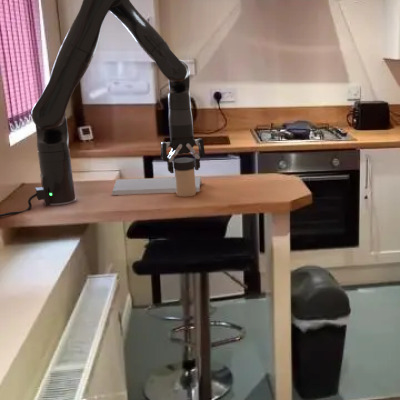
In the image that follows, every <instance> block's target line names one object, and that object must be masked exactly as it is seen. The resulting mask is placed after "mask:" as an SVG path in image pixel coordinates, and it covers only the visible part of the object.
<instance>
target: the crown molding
mask: <svg viewBox="0 0 400 400" xmlns="http://www.w3.org/2000/svg"><path fill="white" fill-rule="evenodd" d="M202 184H203V181H202V177H201V176H195V187H196V193H200V191H201V185H202ZM150 194H154V195H155V194H177V193H176V181H175V177H155V178H153V177H152V178H151V177H150V178H149V177H148V178H123V179H116V180H115V183H114V185H113V189H112V193H111V195H112V196H126V195H150Z"/></svg>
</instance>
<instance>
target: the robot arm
mask: <svg viewBox="0 0 400 400" xmlns="http://www.w3.org/2000/svg"><path fill="white" fill-rule="evenodd" d="M109 12H110V13H111V14H113V16H114V17H116V18H117V20H119V22H120V23H121V24H122V25H123V26H124V27H125V29H126V30H127V31H128V33H130V36H131V37H132V38H133V39H134V40H135V42H136V43H137V44H138V45H139V46H140V48H141V49H143V51H144V53H146V55H147V56H148V57H149V58H150V59H151V60H152V61H153V62H154V63H155V65H156V67H158V70H159V71H160V72H161V73H162V75H163V76H164V77H165V78H166V79H167V80H168V90H169V91H168V93H167V104H168V127H169V128H168V129H169V141H167V142H166V141H161V142H160V160H162V161H164V162H166V163H167V171H168V172H169V173H170V174H175V169H174V164H173V160H175V158H176V157H177V155H183V154H189V153H190V155H192V157H194V158H193V159H194V166H195V167H194V171H199V169H200V168H201V158H204V157H205V156H206V153H205V151H206V150H205V143H204V142H205V141H204V139H203V138H200V137H198V138H197V139H195V138H194V125H193V124H194V123H193V122H194V119H193V113H192V109H191V108H192V105H191V95H190V87H191V85H190V83H191V73H190V67H189V65H188V64H187V63H186V62H185V61H184V60H181V59H179V58H178V57H177V55H176V54H175V53H174V52H173V51H172V49H171V47H170V45H169V43H167V41H166V40H165V39H164V37H163V36H162V35H161V34H160V33H159V32H158V31H157V30H156V29H155V27H154V26H152V24H151V23H150V22H149V21H148V20H147V19H145V17H144V16H143V15H142V14H141V13H140V12H139V11H138V10H137V9H136V7H135V5H133V3H132V2H131V0H82V3H81V6H80V8H79V11H78V13H77V15H76V17H75V19H74V20H73V22H72V23H71V26H70V28H69V30H68V32H67V34H66V36H65V38H64V40H63V42H62V44H61V46H60V48H59V51H58V53H57V56H56V59H55V61H54V64H53V67H52V70H51V73H50V77H49V80H48V82H47V84H46V86H45V88H44V89H43V92H42V93H41V94H40V96H39V98H38V100H37V101H36V103H35V104H34V105H33V107H32V109H31V119H32V122H33V123H34V125H35V132H36V148H37V156H38V163H39V171H40V173H39V175H40V177H39V178H40V183H41V186H39V187H35V193H34V194H32V195H31V196H29V198H28V200H27V204H28V207H27V208H26V209H25V210H20V211H10V212H5V213H1V214H0V218H2V217H6V216H10V215H19V214H22V213H25V212H27V211H30V210H31V209H32V203H31V202H32V200H33V199H34V198H37V200H38V201H43V203H44V206H45V207H60V206H67V205H70V204H73V203H75V202H77V198H76V192H75V185H74V176H73V169H72V167H73V166H72V159H71V153H70V152H71V151H70V140H69V139H70V137H69V129H68V119H67V113H66V111H67V108H68V104H69V103H70V99H71V97H72V95H73V93H74V91H75V90H76V88H77V86H78V85H79V83H80V82H81V80H82V79H83V77H84V75H85V74H86V72H87V71H88V68H89V67H90V64H91V63H92V60H93V58H94V56H95V53H96V51H97V48H98V44H99V40H100V35H101V32H102V31H101V30H102V27H103V24H104V21H105V19H106V17H107V15H108V14H109ZM195 145H196V146H197V147H198V148H197V149H198V152H197V151H196V150H195V149H194V146H195ZM169 147H170V148H171V150H170V152H169V153H167V152H168V151H167V150H168V149H169ZM167 154H168V155H167Z"/></svg>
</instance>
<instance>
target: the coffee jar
mask: <svg viewBox="0 0 400 400" xmlns="http://www.w3.org/2000/svg"><path fill="white" fill-rule="evenodd" d="M195 177H196V175H195V167H194V168H193V169H190V170H176V169H174V178H175V181H176V193H175V194H176V196H178V197H192V196H196V195H197V194H196V193H197V192H196V187H195Z"/></svg>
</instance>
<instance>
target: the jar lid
mask: <svg viewBox="0 0 400 400" xmlns="http://www.w3.org/2000/svg"><path fill="white" fill-rule="evenodd" d="M194 159H195V158H193V157H177V158H174V159H173V161H172V162H173V169H174V170H175V169H176V170H190V169H193V168H194V169H195V166H194Z"/></svg>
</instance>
